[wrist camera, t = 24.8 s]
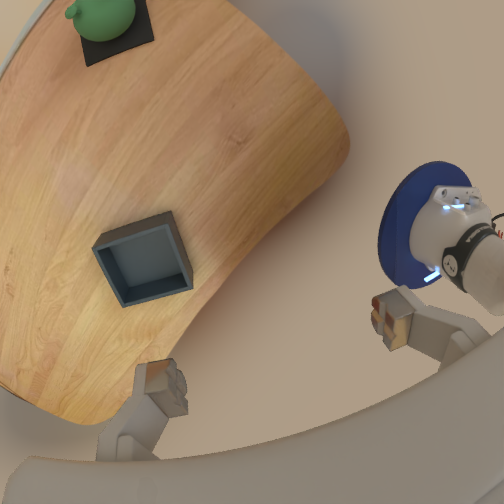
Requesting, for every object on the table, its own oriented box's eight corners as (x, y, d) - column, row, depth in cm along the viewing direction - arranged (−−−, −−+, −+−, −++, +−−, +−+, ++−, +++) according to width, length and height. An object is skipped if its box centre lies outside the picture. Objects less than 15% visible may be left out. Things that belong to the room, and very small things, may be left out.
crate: (171, 210, 37) (168, 222, 33) (193, 271, 42) (193, 289, 38) (101, 233, 37) (91, 248, 33) (127, 290, 41) (122, 308, 38)
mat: (142, -14, 22) (141, -15, 22) (154, 40, 27) (153, 39, 26) (77, 12, 22) (76, 12, 22) (87, 66, 26) (86, 66, 26)
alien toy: (128, -12, 22) (109, -45, 13) (149, 28, 25) (133, 2, 17) (80, 16, 22) (47, -6, 13) (99, 57, 26) (67, 42, 17)
